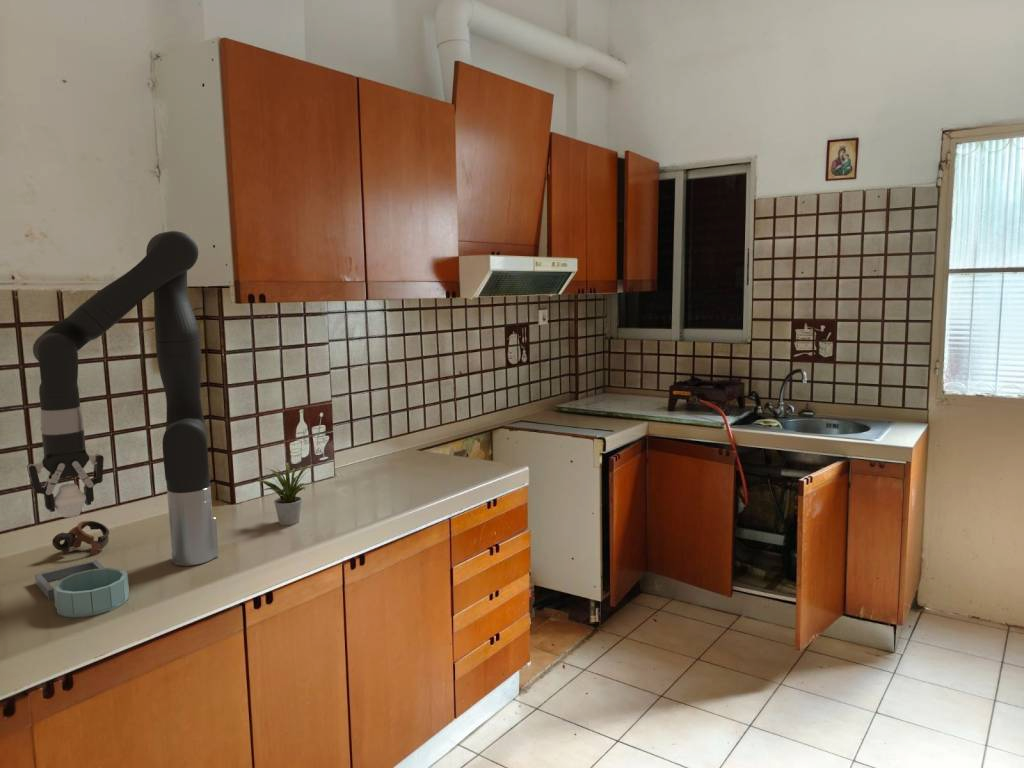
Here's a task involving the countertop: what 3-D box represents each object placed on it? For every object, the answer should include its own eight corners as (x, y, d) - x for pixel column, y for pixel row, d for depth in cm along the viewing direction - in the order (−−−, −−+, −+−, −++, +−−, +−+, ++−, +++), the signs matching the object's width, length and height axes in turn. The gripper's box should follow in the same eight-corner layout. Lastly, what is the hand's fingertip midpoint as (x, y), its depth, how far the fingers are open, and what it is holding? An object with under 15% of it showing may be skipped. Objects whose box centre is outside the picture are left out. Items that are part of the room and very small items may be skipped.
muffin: (53, 513, 158) (50, 481, 157) (86, 509, 161) (83, 477, 160) (54, 521, 153) (51, 488, 152) (88, 516, 156) (85, 483, 155)
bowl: (117, 585, 159) (115, 563, 158) (136, 603, 150) (134, 580, 149) (50, 603, 151) (47, 580, 150) (66, 623, 142) (63, 598, 141)
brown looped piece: (89, 543, 187) (102, 516, 186) (105, 567, 182) (120, 539, 181) (39, 546, 177) (53, 517, 175) (55, 571, 172) (70, 542, 171)
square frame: (96, 568, 169) (96, 559, 169) (112, 583, 161) (112, 574, 160) (35, 583, 161) (34, 574, 161) (49, 599, 152) (48, 590, 152)
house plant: (300, 509, 212) (297, 453, 210) (329, 519, 203) (326, 460, 200) (254, 521, 201) (251, 462, 199) (282, 532, 192) (279, 471, 190)
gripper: (25, 437, 147) (34, 519, 149) (106, 426, 156) (113, 504, 159) (18, 432, 152) (26, 511, 155) (96, 422, 162) (103, 497, 164)
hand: (70, 507), depth 157 cm, fingers closed on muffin, 6 cm apart
